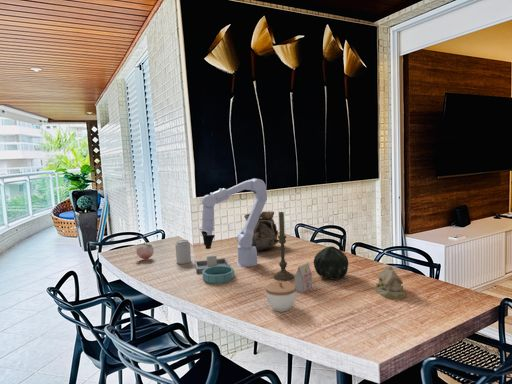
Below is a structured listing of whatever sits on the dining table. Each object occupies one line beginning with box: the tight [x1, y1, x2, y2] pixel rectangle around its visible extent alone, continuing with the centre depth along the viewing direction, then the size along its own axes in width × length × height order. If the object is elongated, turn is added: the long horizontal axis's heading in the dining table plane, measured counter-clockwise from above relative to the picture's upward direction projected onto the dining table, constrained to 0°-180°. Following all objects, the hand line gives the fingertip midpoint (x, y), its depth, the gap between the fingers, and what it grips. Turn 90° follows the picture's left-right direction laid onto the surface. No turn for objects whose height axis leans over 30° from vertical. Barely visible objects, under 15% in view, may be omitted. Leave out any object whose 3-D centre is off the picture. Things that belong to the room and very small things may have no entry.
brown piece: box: [244, 210, 279, 251], centre depth 211 cm, size 25×24×22 cm
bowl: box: [201, 266, 235, 285], centre depth 162 cm, size 14×14×4 cm
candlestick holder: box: [273, 210, 295, 281], centre depth 158 cm, size 9×9×30 cm
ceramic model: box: [374, 266, 407, 300], centre depth 137 cm, size 14×11×10 cm
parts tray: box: [194, 257, 231, 274], centre depth 177 cm, size 16×14×2 cm
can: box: [175, 239, 192, 265], centre depth 188 cm, size 8×8×12 cm
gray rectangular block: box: [205, 253, 218, 268], centre depth 177 cm, size 4×4×6 cm
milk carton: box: [294, 262, 313, 294], centre depth 143 cm, size 4×7×10 cm, turn 138°
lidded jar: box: [265, 281, 297, 312], centre depth 127 cm, size 11×11×9 cm
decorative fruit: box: [135, 241, 154, 260], centre depth 198 cm, size 9×8×10 cm
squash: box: [313, 245, 349, 281], centre depth 157 cm, size 14×15×15 cm
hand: (207, 247), depth 176 cm, fingers open, 7 cm apart
